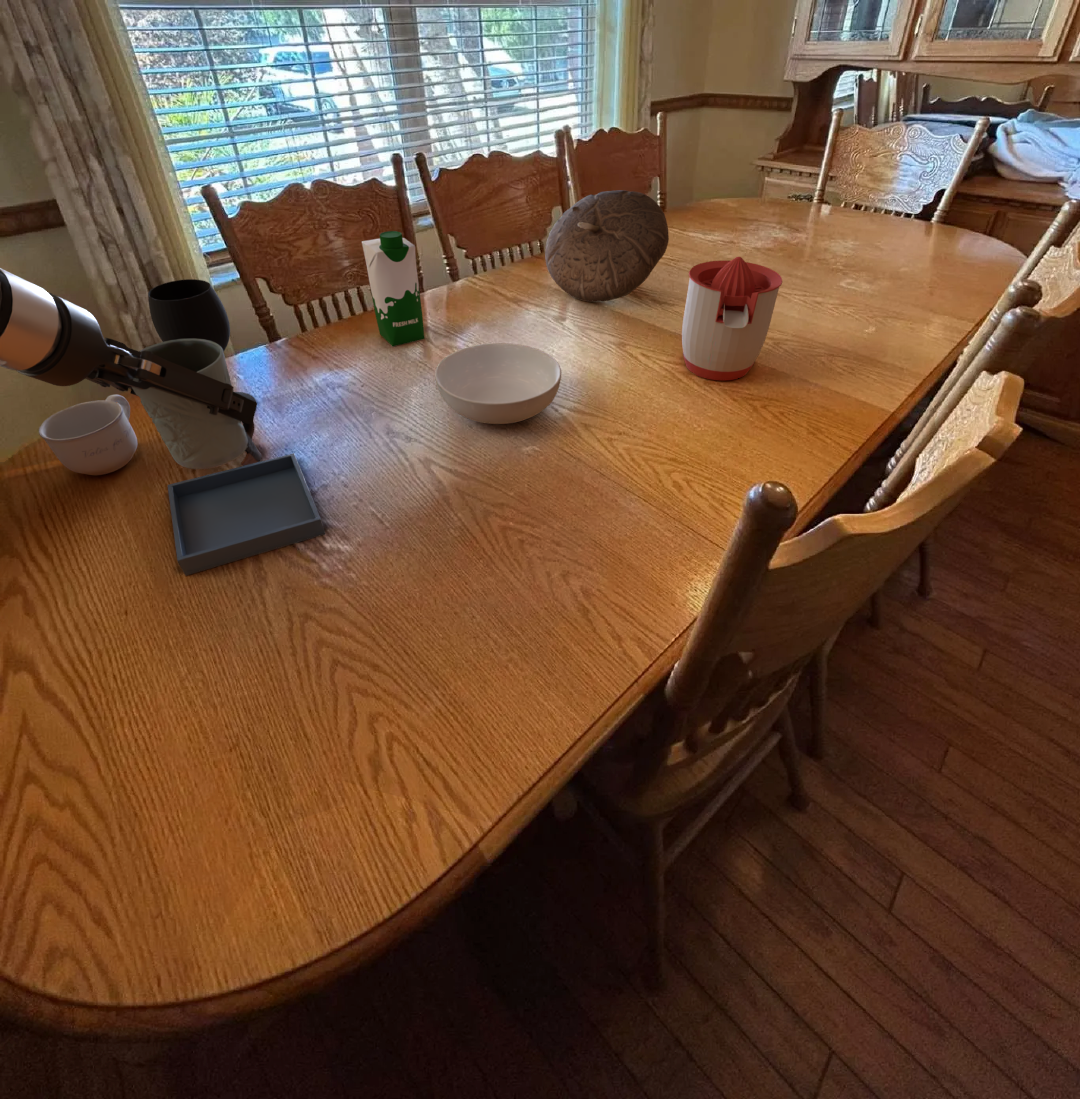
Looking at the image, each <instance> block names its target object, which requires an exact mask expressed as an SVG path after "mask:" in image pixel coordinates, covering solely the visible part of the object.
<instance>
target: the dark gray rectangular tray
mask: <svg viewBox="0 0 1080 1099" xmlns="http://www.w3.org/2000/svg"><path fill="white" fill-rule="evenodd" d="M296 456H297V455H295V452H294V453H293V452H292V453H289V454H285V455H281V456H277V457H272V458H269V459H265V460H260V462H257V463H253V464H249V465H245V466H242V465H241V466H237V467H233V468H229V469H225V470H221V471H217V472H213V473H209V474H206V475H201V476H198V477H193V478H189V479H185V480H180V481H178V482H174V483H170V484H167V492H168V499H169V500H168V501H169V507H170V516H171V522H172V529H173V531H172V532H173V538H174V546H175V553H176V560H177V564H178V565H179V566H180V568H181V570H182V572H183V574H184V576H190V575H194V574H197V573H199V572H203V571H207V570H211V569H213V568H216V567H220V566H224V565H227V564H230V563H233V562H237V561H241V560H244V559H247V558H251V557H254V556H256V555H257V556H258V555H260V554H263V553H266V552H270V551H273V550H277V549H280V548H284V547H287V546H290V545H294V544H297V543H300V542H304V541H307V540H311V539H314V538H317V537H320V536H324V535H326V532H325V531H326V530H325V528H324V524H323V521H322V518H321V515H320V513H319V511H318V508H317V506H316V504H315V501H314V498H313V495H312V494H311V491H310V489H309V485H308V483H307V481H306V479H305V476H304V474H303V471H302V468H301V466H300V464H299V462H298V459H297V457H296Z"/></svg>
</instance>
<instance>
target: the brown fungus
mask: <svg viewBox="0 0 1080 1099" xmlns="http://www.w3.org/2000/svg"><path fill="white" fill-rule="evenodd" d="M669 240H670V236H669V226H668V221H667V218H666V215H665V212H664V211H663V208H662V207H661V206H660V205H659V204H658V203H657V201H655V200H654V199H653V198H652V197H651V196H648V195H647V194H646V193H645V194H644V193H643V192H639V191H635V190H634V191H630V190H623V189H622V190H620V189H619V190H615V189H614V190H606V191H600V192H598V193H597V194H587V195H586V196H584V197H583V198H581V199H580V200H578V201H577V202H575V203H574V204H572V206H570V208H568V209H567V210H564V212H563V213H562V215H561V217H559V218H558V219H557V220H556V222H555V223H554V225H553V226H552V228H551V230H550V231H549V234H548V236H547V239H546V243H545V249H544V250H545V253H544V259H545V264H546V265H545V266H546V269H547V271H548V273H549V275H550V277H551V278H552V280H553V281H554V283H555V284H556V285H557V286H558V287H559V288H560V289H561V290H562V291H564V292H565V293H566V294H567V295H569V296H570V297H572V298H575V299H577V300H579V301H584V302H592V303H596V302H601V303H602V302H608V301H612V300H617V299H621V298H623V297H625V296H627V295H629V294H630V293H632V292H633V291H634V290H636V289H637V288H638V287H640V286H641V285H642V284H643V283H644V282H645V280H647V279H648V277H650V275H651V274H652V272H653V270H654V269H655V267H656V266H657V265H658V263H659V262H660V260H661V259H662V258H663V257H664V255H665V254H666V252H667V248H668V245H669V242H670V241H669Z"/></svg>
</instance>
